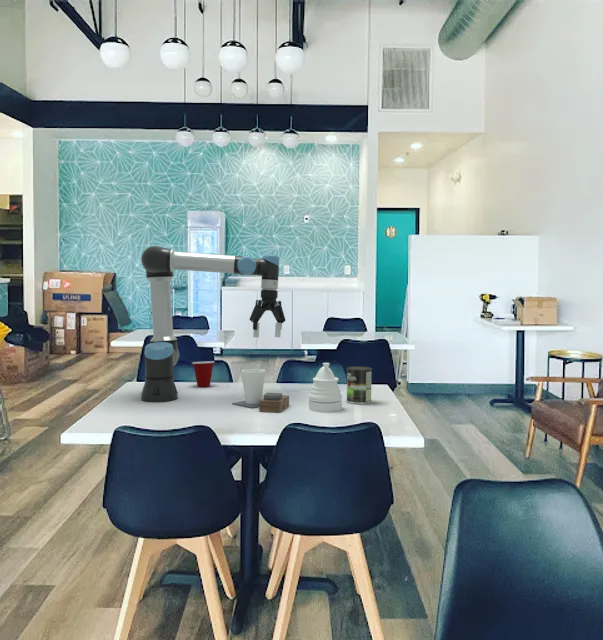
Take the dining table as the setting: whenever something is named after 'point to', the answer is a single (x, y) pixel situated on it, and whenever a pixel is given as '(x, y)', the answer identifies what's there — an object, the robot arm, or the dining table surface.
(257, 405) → the coaster
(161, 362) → the robot arm
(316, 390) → the honey pot
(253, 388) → the foam cup
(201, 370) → the plastic cup
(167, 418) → the dining table surface
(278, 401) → the walnut block
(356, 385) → the coffee can
